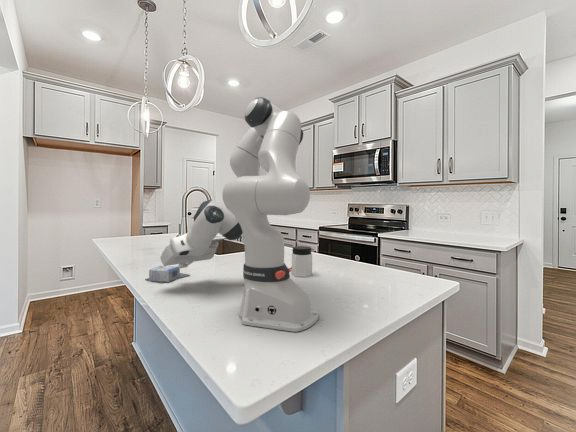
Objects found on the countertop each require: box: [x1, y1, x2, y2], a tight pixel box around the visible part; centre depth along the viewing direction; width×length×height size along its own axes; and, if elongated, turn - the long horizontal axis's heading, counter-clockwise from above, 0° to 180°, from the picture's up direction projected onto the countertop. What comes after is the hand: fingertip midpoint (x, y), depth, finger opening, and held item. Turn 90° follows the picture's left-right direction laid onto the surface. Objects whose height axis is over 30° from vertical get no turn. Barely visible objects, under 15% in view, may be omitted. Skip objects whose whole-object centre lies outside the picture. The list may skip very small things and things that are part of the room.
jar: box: [291, 245, 313, 278], centre depth 129 cm, size 9×8×12 cm
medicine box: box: [148, 265, 181, 283], centre depth 119 cm, size 8×4×9 cm
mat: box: [145, 272, 191, 284], centre depth 122 cm, size 10×14×1 cm
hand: (182, 266), depth 114 cm, fingers closed
